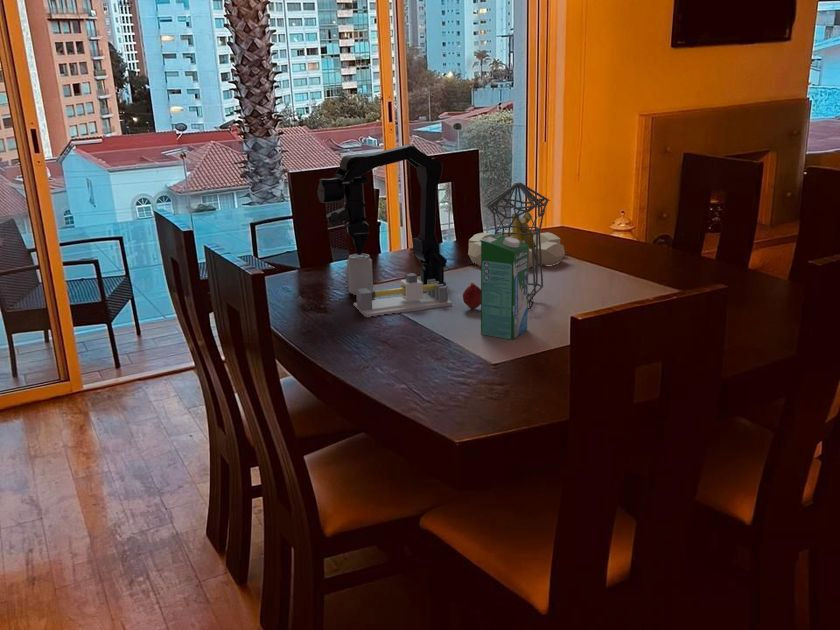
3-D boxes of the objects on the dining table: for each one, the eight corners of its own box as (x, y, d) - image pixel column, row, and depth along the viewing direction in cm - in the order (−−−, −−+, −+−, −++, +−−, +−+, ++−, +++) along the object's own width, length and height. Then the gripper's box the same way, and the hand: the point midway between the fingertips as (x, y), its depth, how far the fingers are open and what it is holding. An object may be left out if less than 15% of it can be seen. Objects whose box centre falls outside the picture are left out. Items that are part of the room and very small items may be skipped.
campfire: (570, 271, 255) (572, 220, 250) (469, 272, 256) (469, 222, 251) (554, 247, 289) (556, 202, 283) (465, 249, 289) (465, 204, 284)
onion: (485, 307, 218) (485, 280, 215) (480, 313, 213) (480, 285, 210) (466, 305, 220) (465, 279, 217) (460, 311, 215) (460, 284, 212)
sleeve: (416, 294, 225) (416, 271, 222) (423, 299, 220) (422, 275, 218) (400, 296, 223) (400, 273, 221) (406, 301, 218) (406, 277, 216)
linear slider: (435, 294, 231) (435, 275, 229) (451, 305, 220) (451, 285, 218) (353, 306, 222) (352, 286, 220) (366, 317, 211) (365, 296, 210)
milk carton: (512, 340, 191) (514, 242, 184) (480, 334, 196) (480, 239, 188) (527, 329, 199) (529, 235, 191) (496, 324, 203) (497, 232, 195)
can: (369, 297, 231) (368, 258, 227) (345, 296, 232) (343, 257, 228) (376, 290, 238) (374, 252, 234) (352, 289, 239) (350, 252, 235)
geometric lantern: (484, 309, 216) (483, 185, 206) (498, 295, 230) (498, 179, 220) (539, 313, 211) (541, 186, 201) (550, 299, 225) (552, 179, 215)
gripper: (325, 196, 230) (328, 246, 235) (328, 206, 213) (332, 260, 218) (361, 193, 232) (364, 243, 237) (368, 203, 215) (371, 257, 220)
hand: (357, 251), depth 228 cm, fingers open, 9 cm apart
